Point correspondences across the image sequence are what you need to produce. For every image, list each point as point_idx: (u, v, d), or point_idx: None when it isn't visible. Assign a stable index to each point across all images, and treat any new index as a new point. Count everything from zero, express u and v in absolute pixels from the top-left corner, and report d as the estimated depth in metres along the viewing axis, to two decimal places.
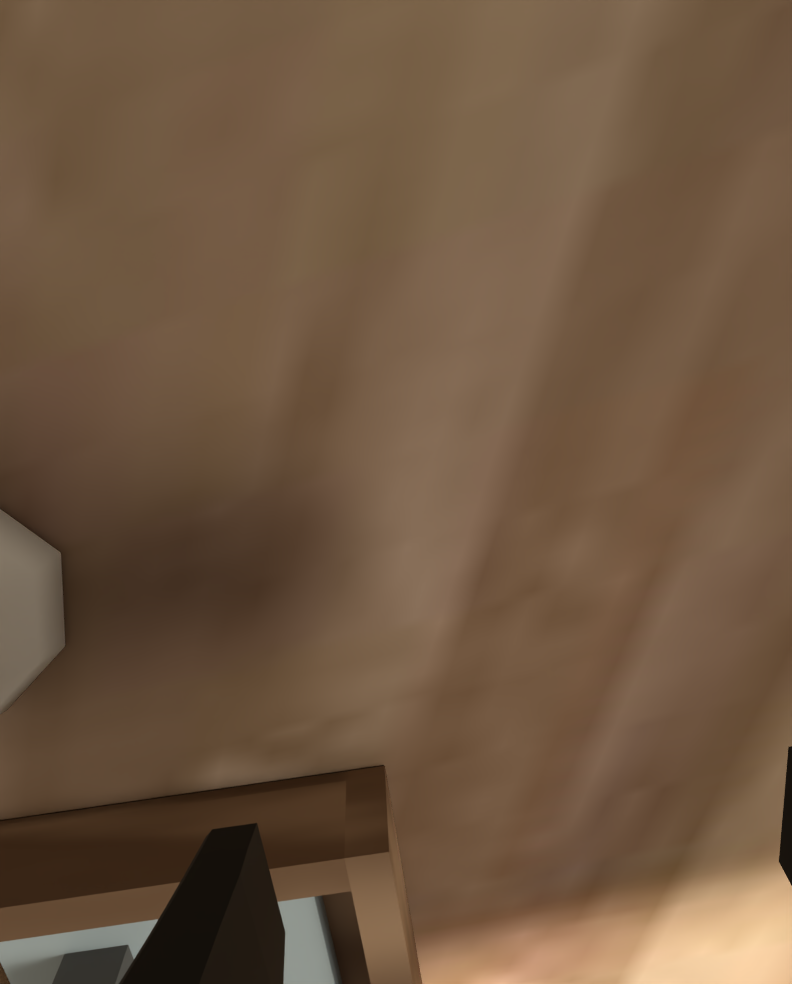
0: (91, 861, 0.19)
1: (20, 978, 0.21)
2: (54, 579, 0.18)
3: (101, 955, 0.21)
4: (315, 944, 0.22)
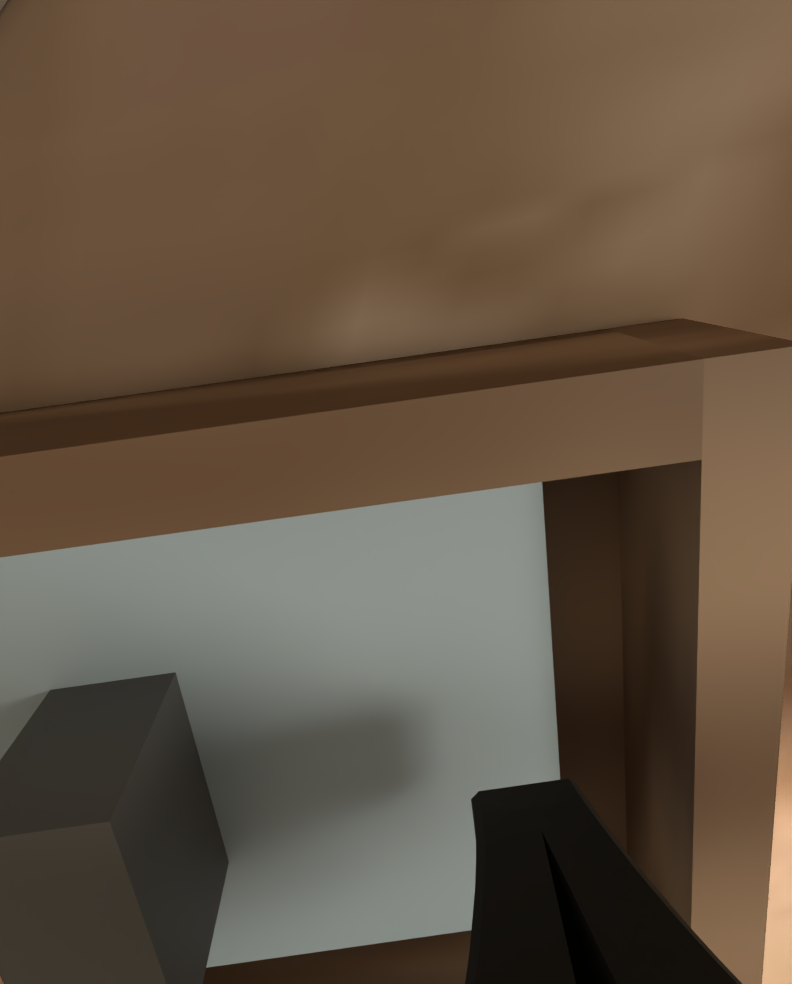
0: (107, 423, 0.09)
1: None
2: None
3: (123, 687, 0.11)
4: (535, 683, 0.11)
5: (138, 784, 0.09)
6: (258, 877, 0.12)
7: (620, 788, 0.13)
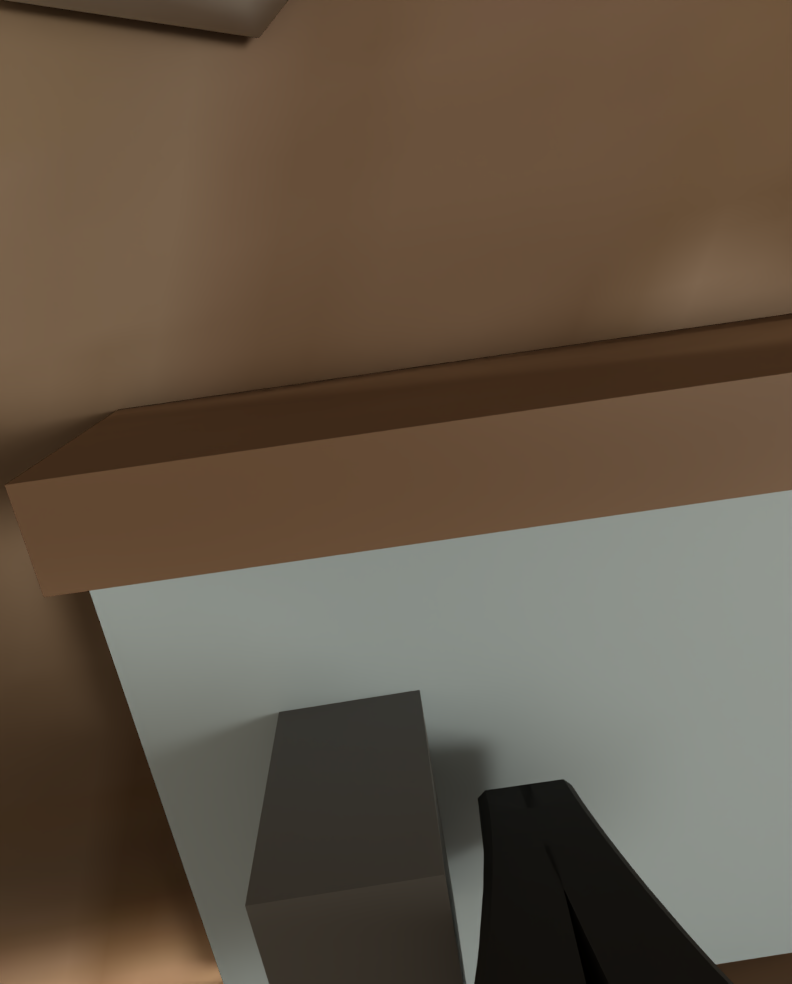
0: (488, 389, 0.07)
1: (178, 773, 0.10)
2: None
3: (367, 708, 0.09)
4: None
5: (438, 825, 0.08)
6: None
7: None
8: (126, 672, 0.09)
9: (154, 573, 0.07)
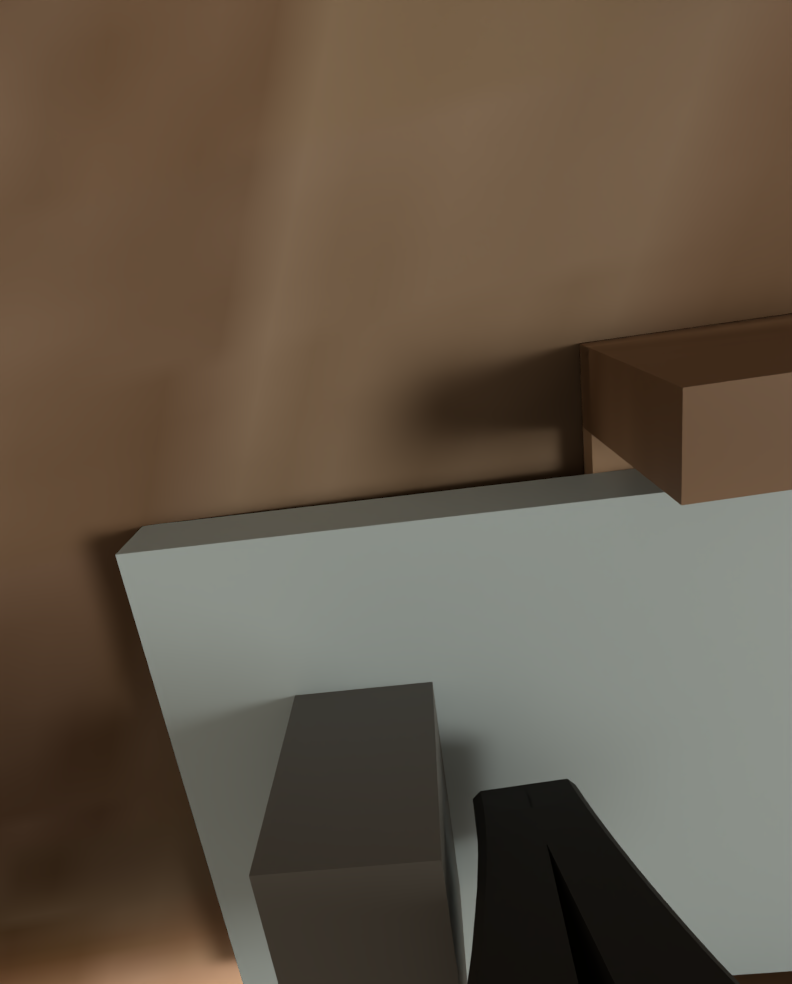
0: None
1: (197, 748, 0.10)
2: None
3: (380, 696, 0.10)
4: None
5: (441, 813, 0.08)
6: None
7: None
8: (151, 648, 0.10)
9: (791, 481, 0.07)
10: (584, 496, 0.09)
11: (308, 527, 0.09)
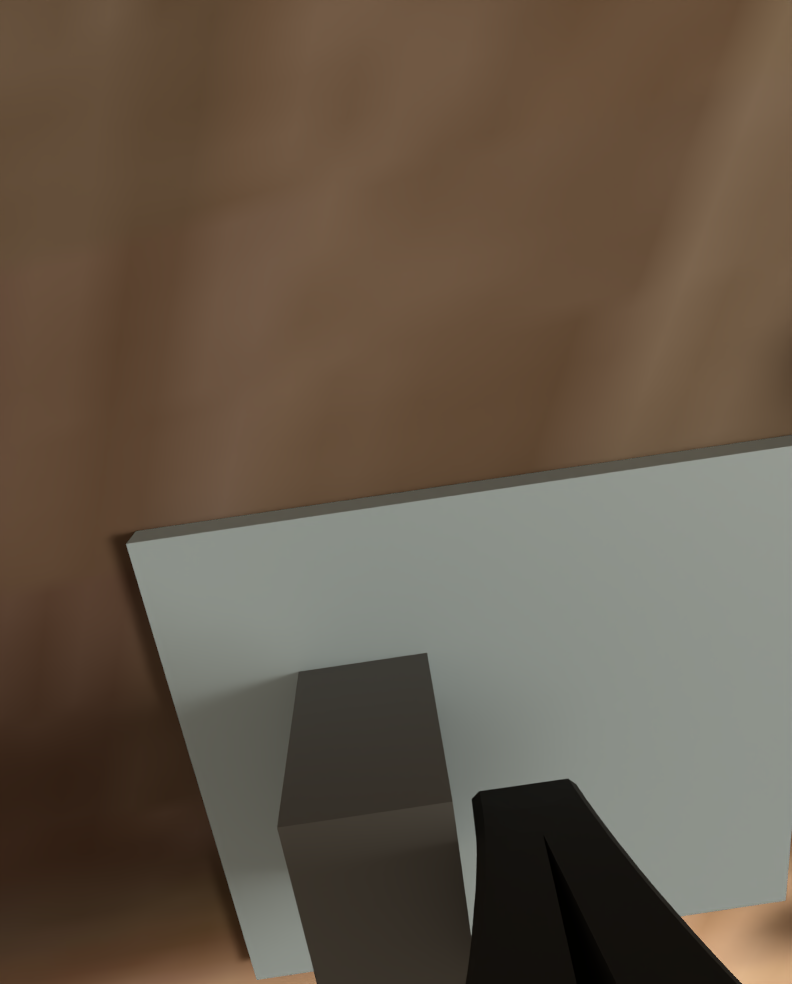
0: None
1: (205, 728, 0.11)
2: None
3: (379, 668, 0.10)
4: (786, 662, 0.11)
5: (445, 765, 0.09)
6: None
7: None
8: (161, 633, 0.10)
9: None
10: (561, 475, 0.10)
11: (309, 512, 0.10)
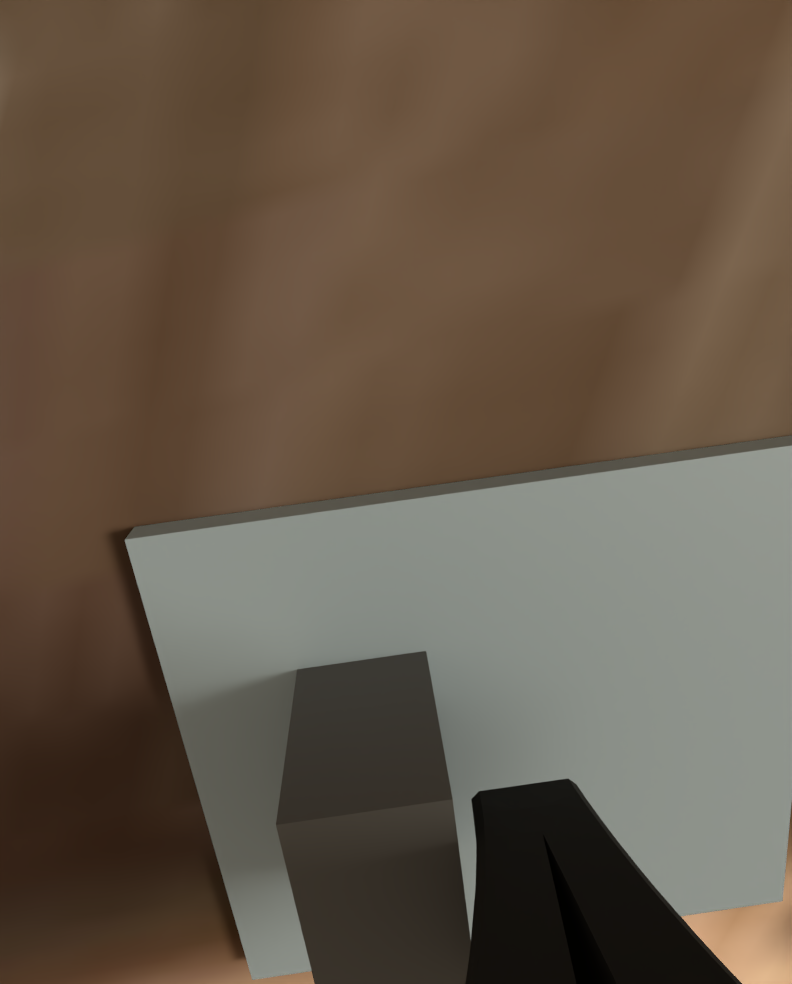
0: None
1: (202, 725, 0.11)
2: None
3: (378, 665, 0.10)
4: (785, 661, 0.11)
5: (445, 762, 0.09)
6: None
7: None
8: (158, 630, 0.10)
9: None
10: (562, 473, 0.10)
11: (308, 508, 0.10)
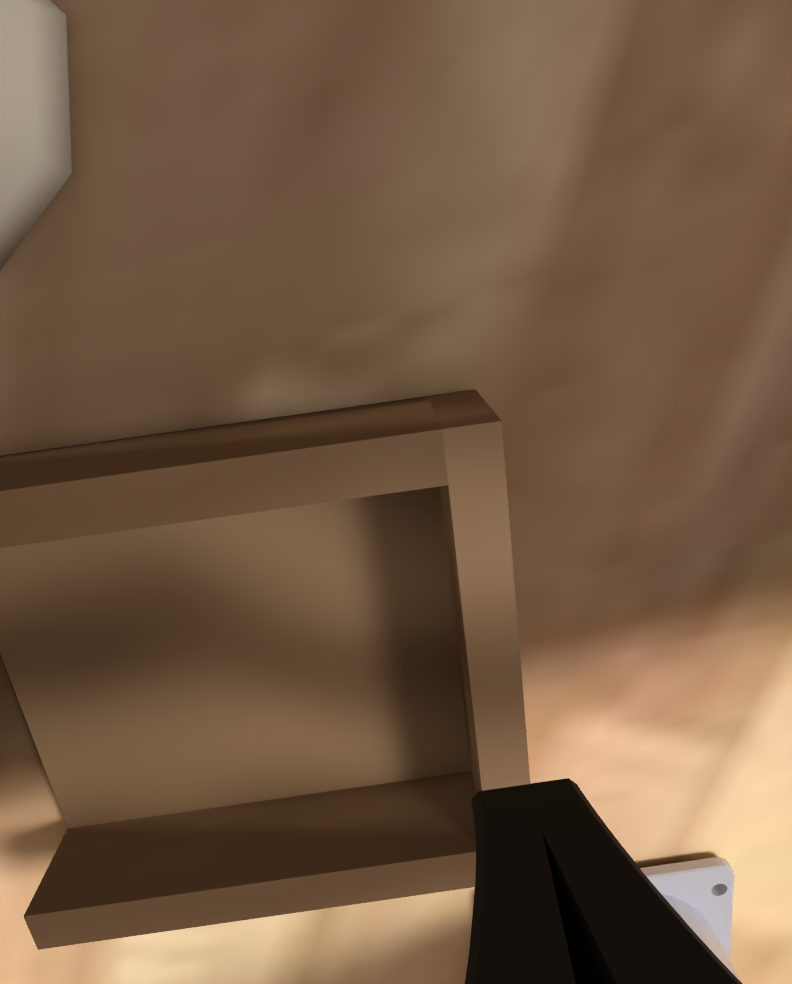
0: (105, 462, 0.15)
1: None
2: (56, 52, 0.13)
3: None
4: None
5: None
6: None
7: (460, 704, 0.19)
8: None
9: None
10: None
11: None
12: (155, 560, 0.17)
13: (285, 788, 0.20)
